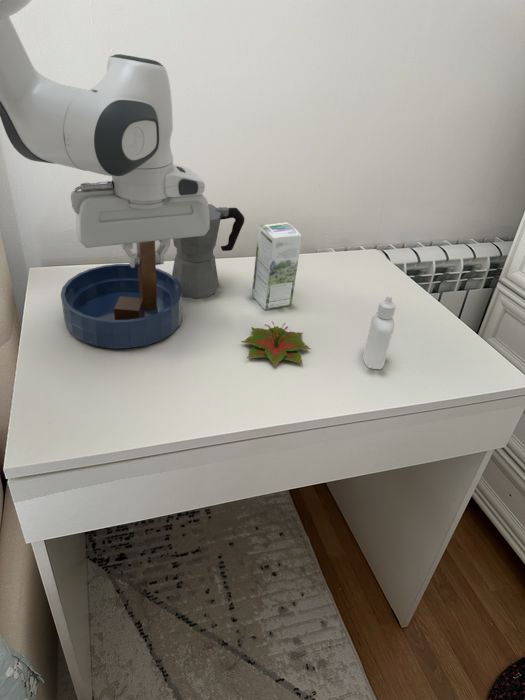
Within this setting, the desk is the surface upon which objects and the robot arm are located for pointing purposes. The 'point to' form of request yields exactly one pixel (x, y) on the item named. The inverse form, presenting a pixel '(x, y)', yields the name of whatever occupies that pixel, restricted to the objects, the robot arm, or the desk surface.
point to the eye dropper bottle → (379, 335)
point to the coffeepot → (203, 255)
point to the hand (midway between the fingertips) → (146, 264)
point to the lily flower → (276, 344)
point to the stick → (147, 274)
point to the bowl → (99, 302)
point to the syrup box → (276, 265)
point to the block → (129, 308)
